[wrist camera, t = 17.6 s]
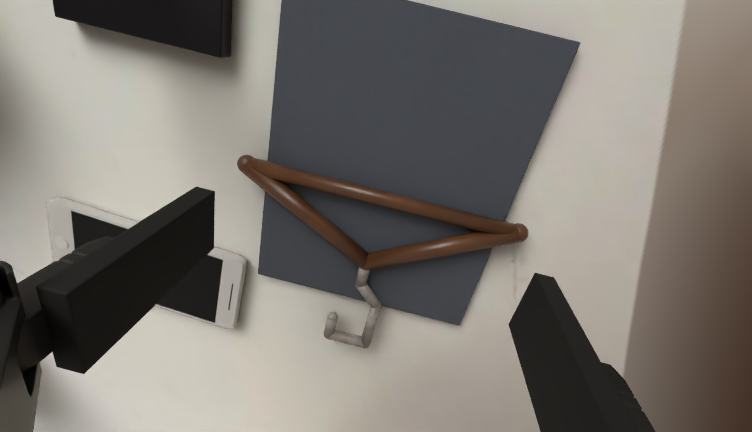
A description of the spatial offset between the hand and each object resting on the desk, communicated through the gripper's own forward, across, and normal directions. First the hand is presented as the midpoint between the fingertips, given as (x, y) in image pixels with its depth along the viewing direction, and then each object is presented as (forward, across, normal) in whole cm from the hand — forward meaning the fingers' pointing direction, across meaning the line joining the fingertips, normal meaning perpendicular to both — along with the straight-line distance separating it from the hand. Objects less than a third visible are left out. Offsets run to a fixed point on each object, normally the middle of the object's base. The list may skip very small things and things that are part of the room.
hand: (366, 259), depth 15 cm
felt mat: (+10, 0, 0) cm, 10 cm away
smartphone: (+10, -17, -12) cm, 23 cm away
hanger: (+9, 0, 0) cm, 9 cm away
